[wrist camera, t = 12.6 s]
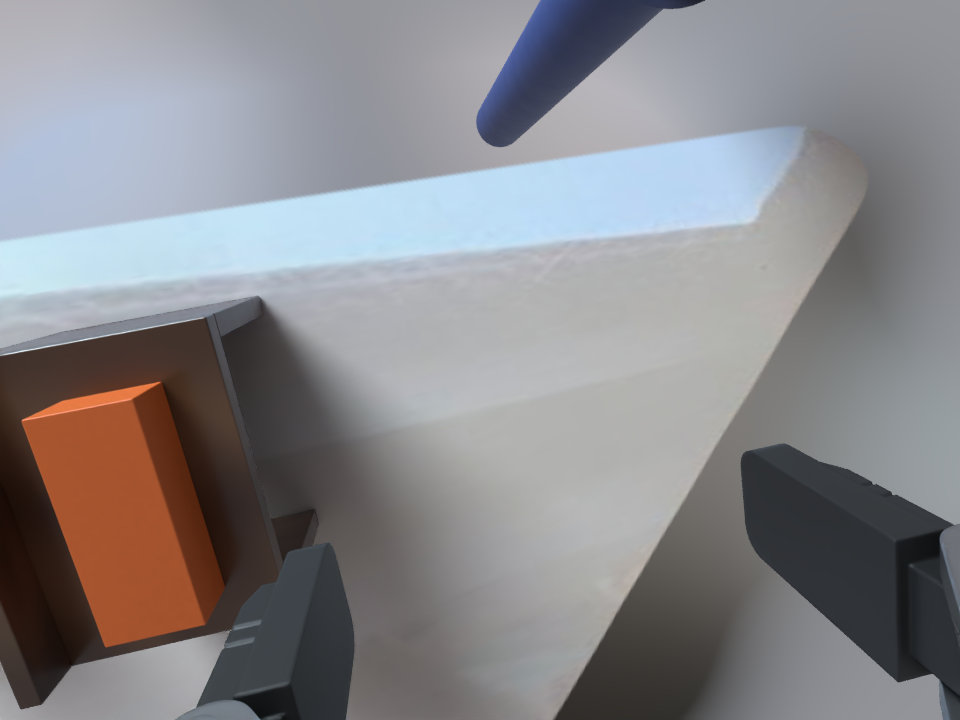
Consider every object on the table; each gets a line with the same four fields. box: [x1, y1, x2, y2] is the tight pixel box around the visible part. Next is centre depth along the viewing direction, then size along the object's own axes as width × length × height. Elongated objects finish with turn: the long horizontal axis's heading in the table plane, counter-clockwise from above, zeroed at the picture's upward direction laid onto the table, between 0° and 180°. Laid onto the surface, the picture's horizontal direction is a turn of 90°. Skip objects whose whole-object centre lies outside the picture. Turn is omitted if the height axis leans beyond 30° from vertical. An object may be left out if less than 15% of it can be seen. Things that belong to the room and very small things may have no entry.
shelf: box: [0, 296, 319, 709], centre depth 32 cm, size 16×12×12 cm
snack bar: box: [22, 382, 225, 648], centre depth 27 cm, size 11×4×3 cm, turn 10°
